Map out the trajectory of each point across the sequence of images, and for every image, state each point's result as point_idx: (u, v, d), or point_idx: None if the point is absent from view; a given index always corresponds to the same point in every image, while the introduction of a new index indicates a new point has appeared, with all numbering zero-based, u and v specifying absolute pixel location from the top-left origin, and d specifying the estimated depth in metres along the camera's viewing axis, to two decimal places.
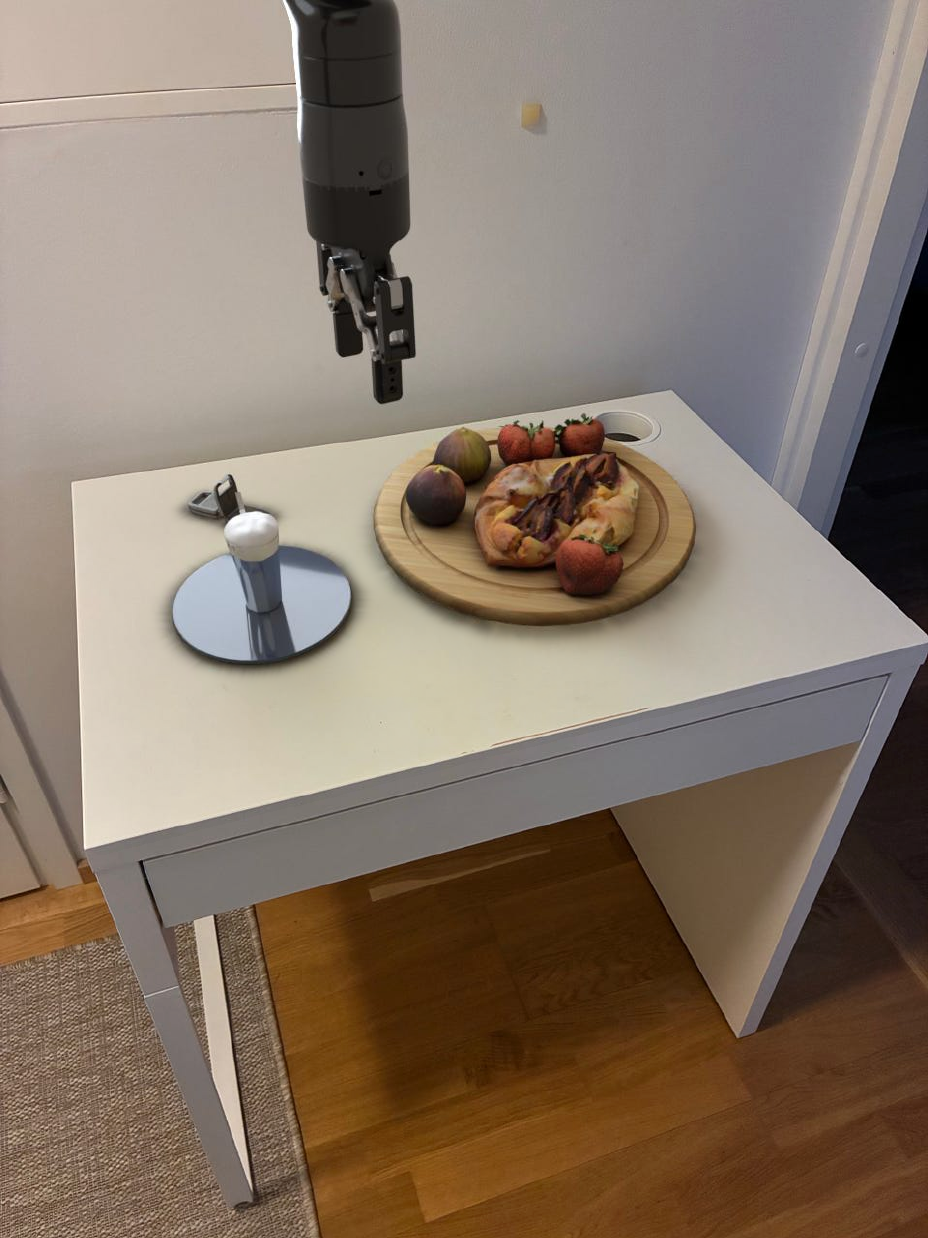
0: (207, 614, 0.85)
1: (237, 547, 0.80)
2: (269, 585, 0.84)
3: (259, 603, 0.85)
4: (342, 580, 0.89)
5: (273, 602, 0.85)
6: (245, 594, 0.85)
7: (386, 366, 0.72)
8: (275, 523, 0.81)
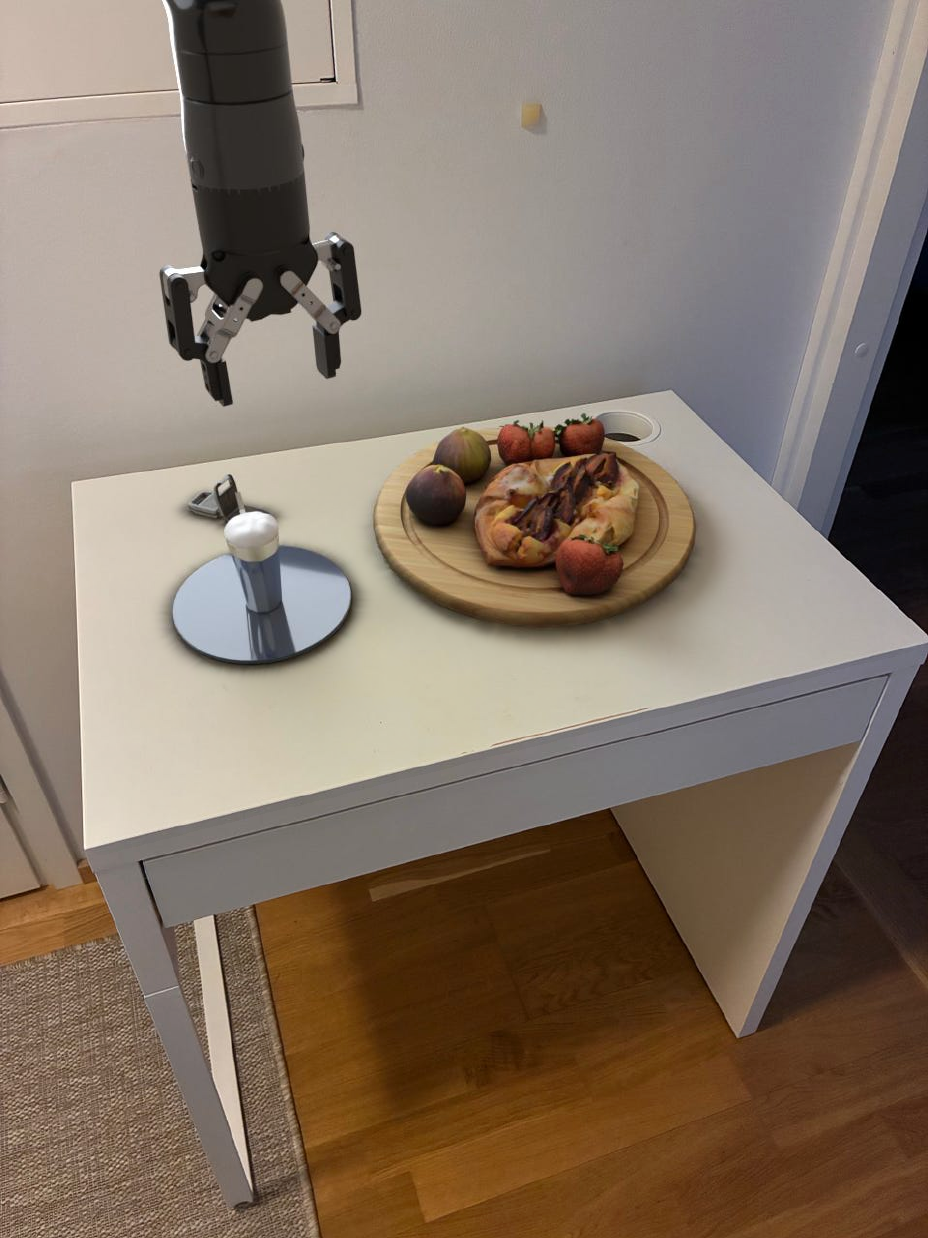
0: (207, 614, 0.85)
1: (237, 547, 0.80)
2: (269, 585, 0.84)
3: (259, 603, 0.85)
4: (342, 580, 0.89)
5: (273, 602, 0.85)
6: (245, 594, 0.85)
7: (200, 360, 0.70)
8: (275, 523, 0.81)
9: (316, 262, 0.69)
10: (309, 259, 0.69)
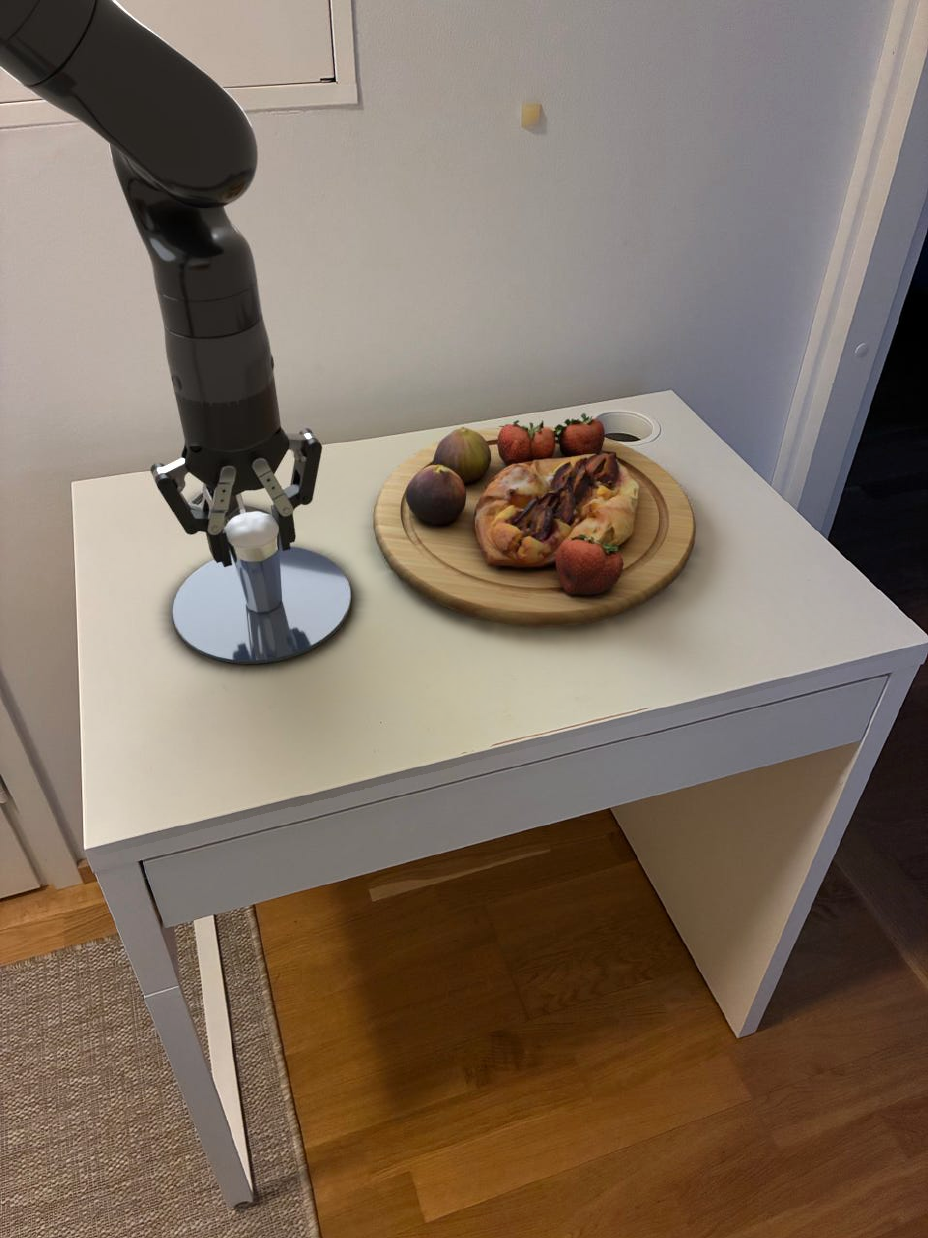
0: (207, 614, 0.85)
1: (237, 547, 0.80)
2: (269, 585, 0.84)
3: (259, 603, 0.85)
4: (342, 580, 0.89)
5: (273, 602, 0.85)
6: (245, 594, 0.85)
7: None
8: (275, 523, 0.81)
9: (287, 447, 0.77)
10: (280, 445, 0.77)
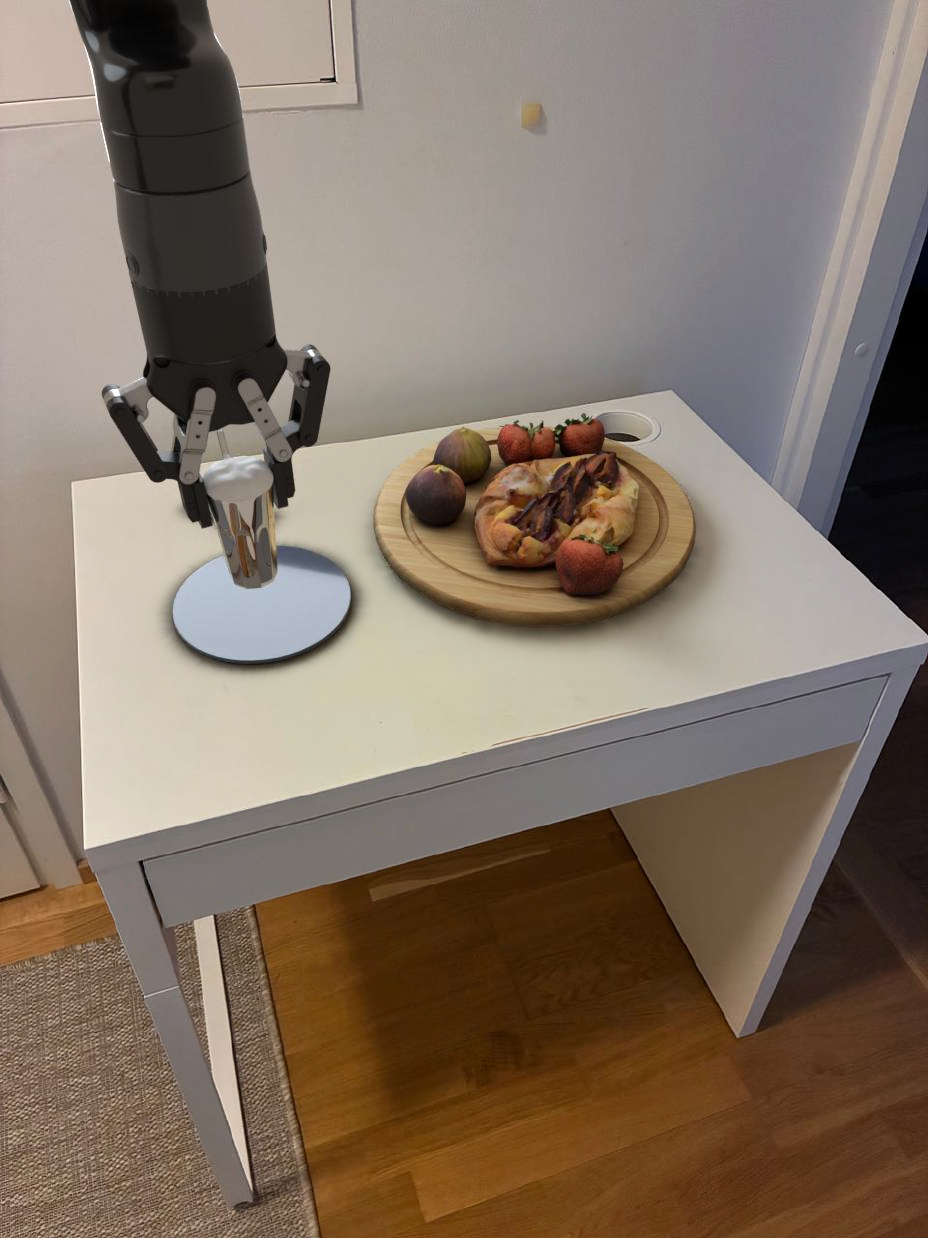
0: (207, 614, 0.85)
1: (219, 500, 0.61)
2: (261, 552, 0.65)
3: (248, 576, 0.66)
4: (342, 580, 0.89)
5: (266, 575, 0.66)
6: (230, 564, 0.65)
7: None
8: (269, 470, 0.62)
9: (284, 366, 0.58)
10: (275, 363, 0.58)
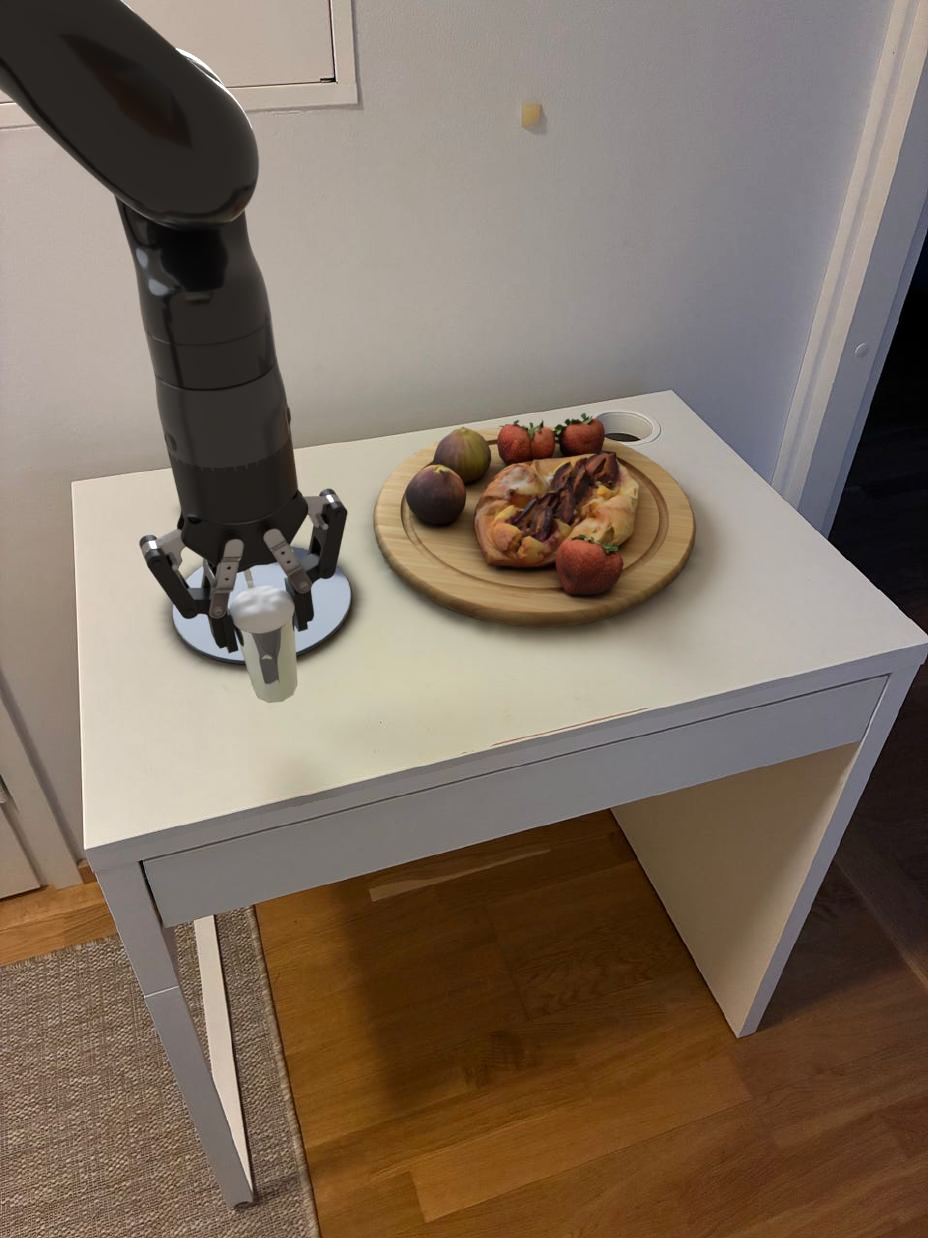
0: None
1: (245, 631, 0.66)
2: (283, 672, 0.70)
3: (270, 692, 0.71)
4: (342, 580, 0.89)
5: (287, 690, 0.72)
6: (254, 682, 0.71)
7: None
8: (290, 601, 0.68)
9: (305, 514, 0.64)
10: (297, 512, 0.63)
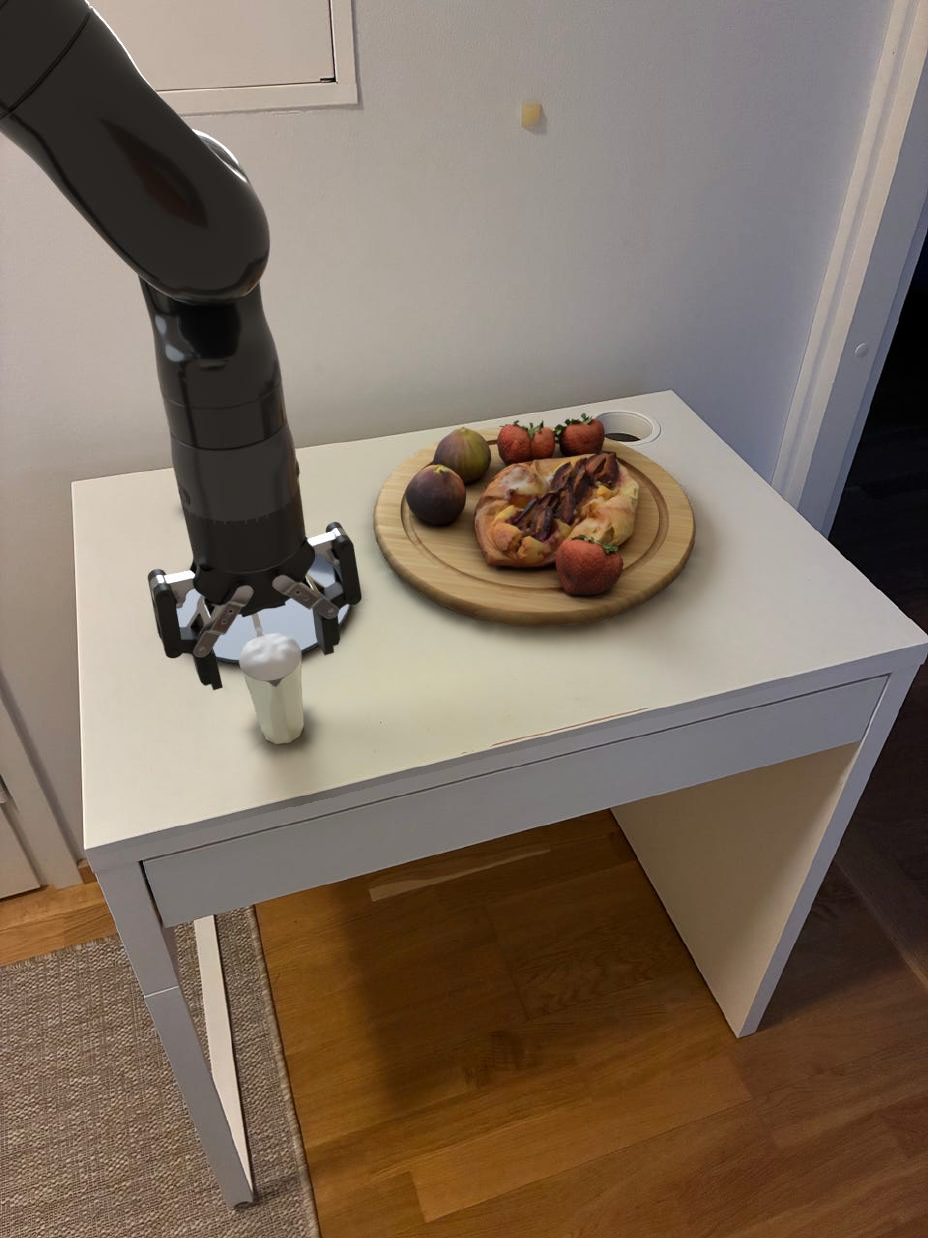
0: None
1: (254, 679, 0.69)
2: (290, 716, 0.73)
3: (278, 734, 0.74)
4: None
5: (294, 732, 0.75)
6: (262, 724, 0.74)
7: None
8: (297, 649, 0.71)
9: (313, 560, 0.66)
10: (305, 559, 0.66)
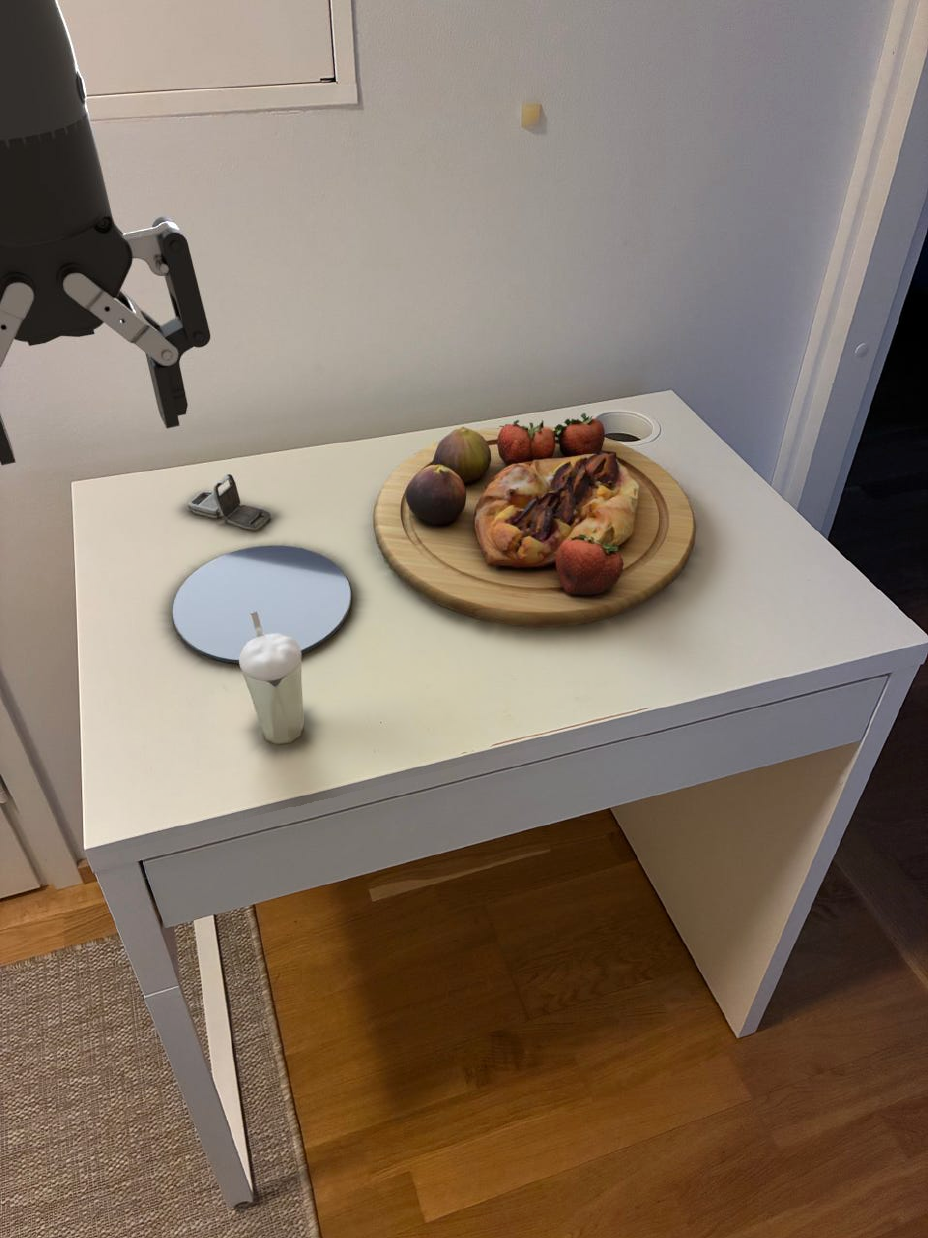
0: (207, 614, 0.85)
1: (254, 679, 0.69)
2: (290, 716, 0.73)
3: (278, 734, 0.74)
4: (342, 580, 0.89)
5: (294, 732, 0.75)
6: (262, 724, 0.74)
7: None
8: (297, 649, 0.71)
9: (128, 261, 0.46)
10: (114, 256, 0.46)
